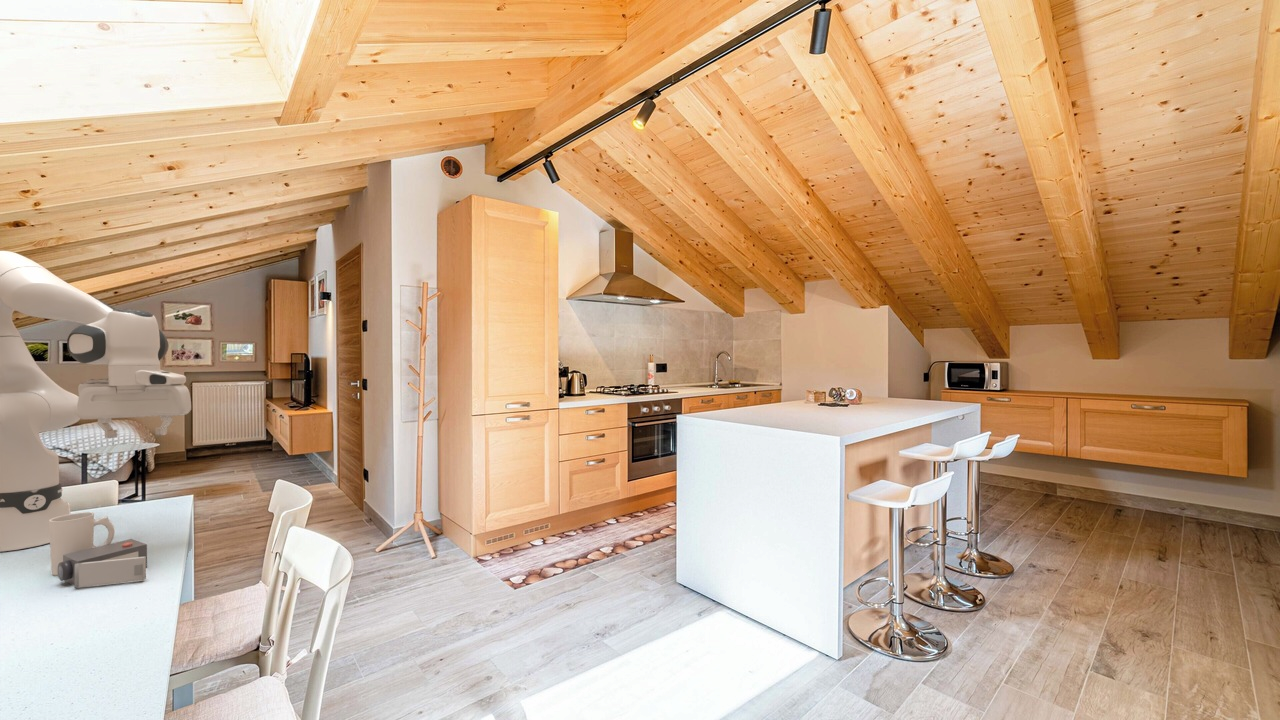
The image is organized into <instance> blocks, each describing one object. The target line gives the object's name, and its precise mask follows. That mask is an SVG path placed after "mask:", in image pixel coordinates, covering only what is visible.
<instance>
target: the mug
mask: <svg viewBox="0 0 1280 720" xmlns="http://www.w3.org/2000/svg"><path fill="white" fill-rule="evenodd" d="M49 521H50V543H49V544H50V545H49V546H50V567H51V575H52V576H58V564H59V563H60V562H63V555H65V554H69V553H73V552H78V551H82V550H86V549H90V548H94V547H95V546H94V531H95V530H94V529H95V527H96V526H101V525H102V526H104V527H105V528H106V530H107V532H108V533H107V538H106V540H105V542H104V543H103V544H102V545H101V546H103V545H107V544H111V543H113V540H114V539H115V538H114V537H115V532H116V531H115V530H116V529H115V526H114V525H113V524H112V521H111V520H110V519H109V517H108V516H104V517H100V518H99V519H95V512H89V511H88V512H75V513H71V514H68V515H63V516H59V517H55V518H52V519H50V520H49ZM58 577H59V576H58Z"/></svg>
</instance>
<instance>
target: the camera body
mask: <svg viewBox="0 0 1280 720" xmlns="http://www.w3.org/2000/svg"><path fill="white" fill-rule="evenodd" d="M102 545H103V544H102ZM102 545H99V546H94V548H90V549H86V550H82V551H78V552H73V553H69V554H65V555H63V562H60V563H59V564H58V580H60V581H62V582H63V581H64V582H66V583H68V584H70V585H72V586H74V587H75V564H77V563H85V562H95V561H105V560H115V559H125V558H135V557H145V556H146V569H147V568H148V544H147V543H144V542H142V541H139V540H136V539H133V538H129V539H125V540H120V541H116V542H111V544H107V545H103V546H102Z"/></svg>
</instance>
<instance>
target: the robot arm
mask: <svg viewBox="0 0 1280 720" xmlns="http://www.w3.org/2000/svg"><path fill="white" fill-rule="evenodd" d="M15 311H16V312H19V313H21V314H23V315H26V316H30V317H34V318H39V319H49V320H57V321H58V320H59V321H66V322H73V323H78V324H79V323H80V324H82V325H79V326H77V327H75V328H74V329H73V330H72V331H70V333H69V334H68V336H67V341H66V346H67V351H68V352H69V355H70V356H71V357H72V358H73V359H74V360H75V361H77V362H79V363H81V364H86V365H107V367H108V370H107V371H108V373H107V376H108V378H98V379H97V378H89V379H86V380H84V381H81V383H80V384H79V385H78V388H77V390H78V393H77V394H78V395H77V394H74V393H73V392H70V391H69V390H66V389H64V388H63V387H61V386H60V385H59V384H57V383H56V382H55V381H53V380H52V378H50V377H49V375H47V374H46V373H45V372H44V371H43V370H42V369H41V368H40V367H39V365H38V364H37V362H36V361H35V359H34V357H33V356H32V354H31V352H30V350H29V349H28V347H27V345H26V343H25V341H24V339H23V338H22V336H21V334H20V331H19V330H18V328H17V327H16V325H15V324H14V321H13V314H14V312H15ZM168 349H169V341H168V338H167V336H166V335H165V334H164V332H163V331H162V330H161V329H159V323H158V320H157V318H156V316H155V315H154V314H152V313H151V312H148V311H143V310H137V309H129V308H115V307H113V306H112V305H110V304H108V303H106V302H105V301H102V300H100V299H98V298H97V297H94V296H93V295H90V294H89V293H86V292H84V291H83V290H81V289H79V288H78V287H75V286H73V285H72V284H70V283H68V282H66V280H63V279H61V278H60V277H58V276H57V275H56V274H54V273H53V272H51V271H50V270H49V269H47V268H45V267H44V266H42V264H39V263H38V262H35V261H34V260H33V259H31V258H28V257H26V256H25V255H22V254H19V253H16V252H14V251H10V250H0V552H7V551H8V552H9V551H18V550H22V549H29V548H33V547H38V546H43V545H47V544H50V521H49V520H50V519H52V518H55V517H59V516H63V515H68V514H72V513H71V504H70V503H69V502H68V501H65V500H63V499H62V495H63V494H62V493H63V486H62V483H60V459H59V455H58V453H57V452H55V451H54V450H52V449H49V448H47V447H46V446H45V445H44V443H43V441H42V439H41V435H40V433H45V432H53V431H56V430H61V429H64V428H67V427H69V426H72V425H74V424H76V423H78V422H79V421H80V420H97V424H98V426H99V427H100V428H101V429H102V431H103V432H104V439H112V438H113V439H115V438H117V437H118V429H113V426H111V424H110V423H112V419H123V418H125V419H126V418H127V419H128V418H147V417H149V418H151V417H160V421H162V423H161V425H160V427H156V428H155V427H154V431H155V432H154V433H155V436H165V435H167V434H168V427H169V426H170V424H171V423H172V421H173V419H174V418H173V416H174V417H176V416H184V415H188V414H189V413H190V412H191V411H192V401H191V400H192V399H191V393H190V390H189V389H188V387H187V385H185V383H186V382H187V377H186V375H183V374H179V373H175V372H171V371H168V370H167V371H166V370H163V369H161V360H162V359H164V357H165V356H166V354H167V352H168V351H169V350H168Z"/></svg>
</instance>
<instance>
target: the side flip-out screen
mask: <svg viewBox="0 0 1280 720" xmlns="http://www.w3.org/2000/svg"><path fill="white" fill-rule="evenodd" d="M146 579H147V568H146V556H145V557H135V558H125V559H115V560H105V561H95V562H85V563H77V564H75V586H74V589H79V588H85V587H95V586H104V585H105V586H106V585H114V584H123V583H130V582H131V583H132V582H140V581H141V582H142V581H145V580H146Z"/></svg>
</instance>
